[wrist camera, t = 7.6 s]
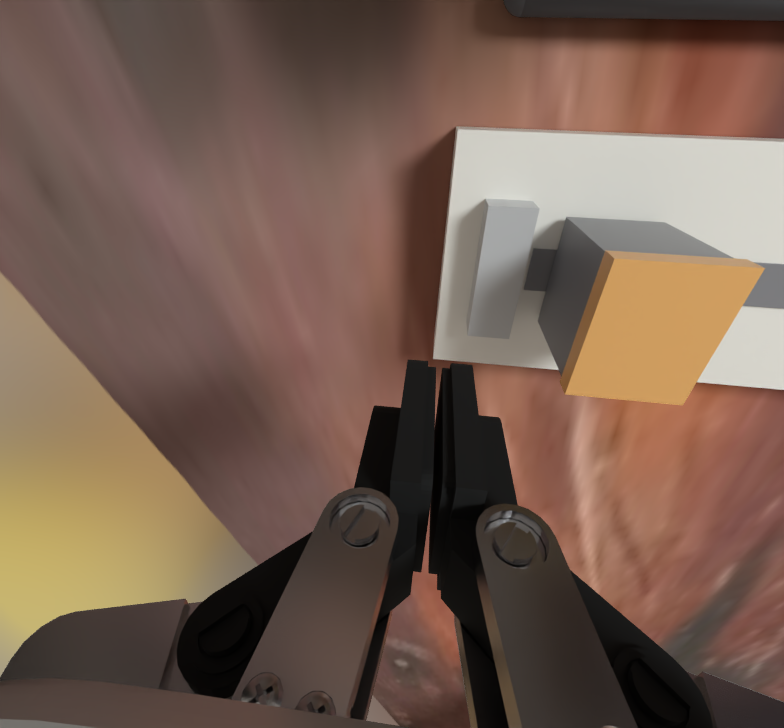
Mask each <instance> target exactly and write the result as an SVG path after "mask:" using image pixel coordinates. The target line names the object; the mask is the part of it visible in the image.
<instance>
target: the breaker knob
mask: <svg viewBox="0 0 784 728" xmlns="http://www.w3.org/2000/svg"><path fill="white" fill-rule="evenodd" d="M764 269H765V268H764V267H762V266H760V265H758V264H756V263H754V262H752V261H750V260H748V259H736V258H733V257H731V256H729V255H727V254H725V253H723V252H721V251H719V250H717V249H715V248H714V247H712V246H710V245H708V244H706V243H704V242H702V241H700V240H698V239H696V238H694V237H692V236H690V235H688V234H686V233H685V232H683V231H681V230H679V229H677V228H675V227H673V226H671V225H669V224H667V223H665V222H651V221H634V220H616V219H598V218H580V217H566V220H565V223H564V227H563V231H562V234H561V238H560V241H559V245H558V249H557V252H556V256H555V260H554V263H553V267H552V271H551V274H550V278H549V281H548V285H547V289H546V292H545V296H544V300H543V303H542V307H541V310H540V314H539V318H538V323H539V325H540V328H541V330H542V332H543V335H544V337H545V339H546V342H547V344H548V346H549V349H550V351H551V353H552V356H553V358H554V360H555V362H556V365H557V367H558V369H559V372H560V374H561V376H562V377H561V379H560V384H561V386H562V388H563V391H564V393H565V394H567V395H578V396H588V397H599V398H610V399H621V400H631V401H642V402H653V403H663V404H674V405H683V404H684V402H685V401H686V399H687V397H688V396H689V394H690V392H691V391H692V389H693V387H694V386H695V384H696V382H697V381H698V379H699V377H700V376H701V374H702V372H703V371H704V369H705V367H706V366H707V364H708V362H709V361H710V359H711V357H712V356H713V354H714V352H715V351H716V349H717V347H718V346H719V344H720V342H721V341H722V339H723V337H724V336H725V334H726V332H727V331H728V329H729V327H730V326H731V324H732V322H733V321H734V319H735V317H736V316H737V314H738V312H739V311H740V309H741V307H742V306H743V304H744V303H745V301H746V299H747V298H748V296H749V294H750V293H751V291H752V289H753V288H754V286H755V284H756V283H757V281H758V279H759V278H760V276H761V274H762V273H763V271H764Z"/></svg>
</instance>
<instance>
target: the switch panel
mask: <svg viewBox="0 0 784 728" xmlns="http://www.w3.org/2000/svg"><path fill="white" fill-rule="evenodd" d="M566 217H580V218H598V219H616V220H634V221H651V222H665V223H667V224H669V225H671V226H673V227H675V228H677V229H679V230H681V231H683V232H685V233H686V234H688V235H690V236H692V237H694V238H696V239H698V240H700V241H702V242H704V243H706V244H708V245H710V246H712V247H714V248H715V249H717V250H719V251H721V252H723V253H725V254H727V255H729V256H731V257H733V258H736V259H748V260H750V261H752V262H754V263H756V264H758V265H760V266H762V267H764V268H765V269H764V271H763V273H762V274H761V276H760V278H759V279H758V281H757V283H756V284H755V286H754V288H753V289H752V291H751V293H750V294H749V296H748V298H747V299H746V301H745V303H744V304H743V306H742V307H741V309H740V311H739V312H738V314H737V316H736V317H735V319H734V321H733V322H732V324H731V326H730V327H729V329H728V331H727V332H726V334H725V336H724V337H723V339H722V341H721V342H720V344H719V346H718V347H717V349H716V351H715V352H714V354H713V356H712V357H711V359H710V361H709V362H708V364H707V366H706V367H705V369H704V371H703V372H702V374H701V376H700V377H699V379H698V381H697V382H700V383H712V384H723V385H735V386H746V387H757V388H769V389H780V390H784V139H774V138H748V137H722V136H695V135H669V134H643V133H616V132H590V131H564V130H538V129H511V128H485V127H459V126H456V132H455V142H454V151H453V161H452V170H451V180H450V190H449V199H448V209H447V218H446V228H445V237H444V247H443V256H442V266H441V275H440V285H439V294H438V304H437V313H436V323H435V332H434V352H433V359H440V360H451V361H462V362H474V363H485V364H496V365H508V366H519V367H530V368H542V369H553V370H559V369H558V367H557V365H556V362H555V360H554V358H553V356H552V353H551V351H550V349H549V346H548V344H547V342H546V339H545V337H544V335H543V332H542V330H541V328H540V325H539V323H538V318H539V314H540V310H541V307H542V303H543V300H544V296H545V292H546V289H547V285H548V281H549V278H550V274H551V271H552V267H553V263H554V260H555V256H556V252H557V249H558V245H559V241H560V238H561V234H562V231H563V227H564V223H565V220H566Z"/></svg>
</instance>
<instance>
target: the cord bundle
mask: <svg viewBox="0 0 784 728" xmlns="http://www.w3.org/2000/svg"><path fill="white" fill-rule="evenodd" d="M503 1H504V5H505V7H506V9H507V10H508V12H509V13H511V14H512V15H514V16H517V17H556V18H625V19H694V20H763V21H784V0H503Z"/></svg>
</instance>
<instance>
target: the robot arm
mask: <svg viewBox="0 0 784 728" xmlns="http://www.w3.org/2000/svg"><path fill="white" fill-rule="evenodd" d="M435 389H436V367H428V361H419V360H408V362H407V369H406V376H405V383H404V390H403V397H402V404H401V408H395V407H385V406H374V408H373V411H372V415H371V420H370V424H369V428H368V432H367V436H366V440H365V444H364V449H363V453H362V457H361V461H360V465H359V469H358V474H357V478H356V482H355V486H354V488H352V489H348V490H346V491H343V492H341V493H339V494H337V495H336V496H335V497H334V498H332V499H331V500H330V501H329V503H328V504H327V505H326V507H325V508H324V510H323V512H322V514H321V516H320V518H319V520H318V522H317V524H316V526H315V528H314V530H313V532H311V533H309V534H308V535H306V536H305V537H303V538H301V539H300V540H298V541H297V542H295V543H293V544H292V545H290V546H289V547H287V548H285V549H284V550H282V551H281V552H279V553H277V554H276V555H274V556H273V557H271V558H269V559H268V560H266V561H265V562H263V563H261V564H260V565H258V566H257V567H255V568H253V569H252V570H250V571H249V572H247V573H245V574H244V575H242V576H241V577H239V578H237V579H236V580H234V581H232V582H231V583H229V584H228V585H226V586H225V587H223V588H221V589H220V590H218V591H216V592H215V593H213V594H212V595H211V596H209V597H208V598H207V599H206V600H204V601H203V602H197V603H188V602H187V600H186V599H179V600H171V601H162V602H154V603H146V604H137V605H128V606H120V607H111V608H103V609H94V610H86V611H78V612H73V613H69V614H66V615H62V616H59V617H57V618H56V619H54V620H52V621H50V622H49V623H47V624H45V625H43V626H42V627H40V628H39V629H38V630H37V631H36V632H35V633H33V635H31V636H30V637H29V638H28V639H27V640H26V641H24V643H23V644H22V645H21V647H20V648H19V649H18V651H17V652H16V653H15V654H14V656H13V657H12V658H11V660H10V662H9V663H8V665H7V667H6V668H5V670H4V672H3V673H2V675H1V677H0V728H408V727H402V726H395V725H388V724H383V723H377V722H370V721H366V719H367V715H368V711H369V707H370V703H371V699H372V695H373V691H374V687H375V682H376V678H377V674H378V670H379V666H380V662H381V658H382V654H383V650H384V645H385V641H386V637H387V633H388V629H389V625H390V621H391V617H392V610H393V609H394V608H395V607H396V606H397V605H398V604H400V603H401V602H402V601H403V600H404V599H405V598H407V597H408V596H409V595H410V593H411V584H412V575H413V571H415V572H421V570H422V562H423V555H424V547H425V540H426V533H427V525H428V518H429V510H430V537H429V573H431V574H437V590H441V599H442V600H443V601H444V602H445V604H446V605H447V606H448V607H449V608H450V610H451V611H452V612H453V613H454V622H455V629H456V636H457V642H458V649H459V655H460V661H461V668H462V674H463V680H464V687H465V693H466V699H467V706H468V712H469V718H470V725H471V728H784V702H782V701H780V700H777V699H774V698H772V697H769V696H766V695H764V694H761V693H758V692H756V691H753V690H750V689H748V688H745V687H742V686H740V685H737V684H734V683H732V682H729V681H726V680H724V679H721V678H718V677H716V676H713V675H710V674H708V673H705V672H703V671H702V672H701V673H700V674H699V675H698V676H697V675H694V674H692V673H689V672H687V671H685V670H684V669H683V668H682V667H681V666H680V665H679V664H678V663H677V662H676V661H675V660H674V659H673V658H672V657H671V656H670V655H669V654H668V653H666V652H665V651H664V650H663V649H662V648H661V647H659V646H658V645H657V644H656V643H655V642H654V641H652V640H651V639H650V638H649V637H648V636H647V635H645V634H644V633H643V632H642V631H641V630H640V629H638V628H637V627H636V626H635V625H634V624H633V623H631V622H630V621H629V620H628V619H627V618H626V617H624V616H623V615H622V614H621V613H620V612H619V611H617V610H616V609H615V608H614V607H613V606H611V605H610V604H609V603H608V602H607V601H606V600H604V599H603V598H602V597H601V596H600V595H599V594H597V593H596V592H595V591H594V590H593V589H592V588H590V587H589V586H588V585H587V584H586V583H585V582H583V581H582V580H581V579H580V578H579V577H578V576H576V575H575V574H574V573H573V572H572V571H571V570H570V569H569V567H568V565H567V562H566V560H565V558H564V555H563V553H562V551H561V548H560V546H559V544H558V541H557V539H556V537H555V535H554V534H553V532H552V530H551V529H550V527H549V526H548V525H547V524H546V523H545V521H544V520H543V519H542V518H541V517H540V516H538V515H536V514H535V513H533V512H532V511H530V510H529V509H526V508H524V507H521V506H518V505H517V500H516V495H515V490H514V484H513V479H512V474H511V469H510V464H509V459H508V454H507V449H506V444H505V438H504V433H503V428H502V423H501V420H500V418H499V417H489V416H479V415H478V407H477V398H476V390H475V382H474V374H473V367H472V365H466V364H454V363H451V365H450V369H448V368H442V374H441V382H440V390H439V398H438V406H437V414H436V422H435ZM434 428H435V430H434ZM430 503H431V505H430Z"/></svg>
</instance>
